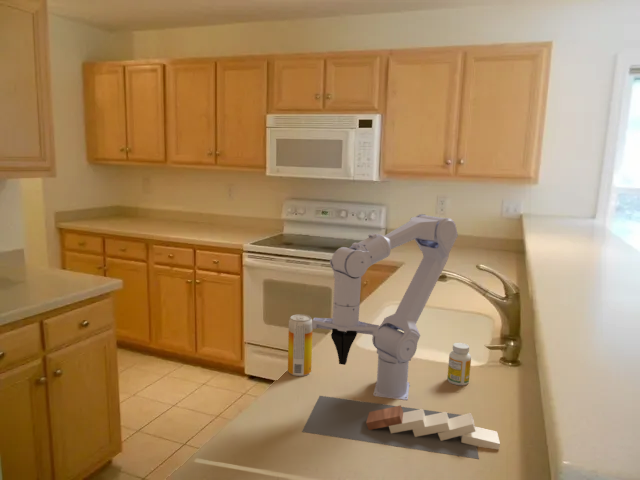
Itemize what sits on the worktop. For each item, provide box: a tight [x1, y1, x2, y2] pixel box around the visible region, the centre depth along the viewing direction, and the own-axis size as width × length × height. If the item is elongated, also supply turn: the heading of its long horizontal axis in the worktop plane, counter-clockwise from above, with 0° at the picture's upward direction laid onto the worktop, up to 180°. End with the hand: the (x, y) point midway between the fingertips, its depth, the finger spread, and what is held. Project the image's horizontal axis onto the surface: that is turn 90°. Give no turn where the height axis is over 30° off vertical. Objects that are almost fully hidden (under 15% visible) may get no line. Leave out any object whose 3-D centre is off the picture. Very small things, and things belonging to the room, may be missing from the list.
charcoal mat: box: [301, 395, 480, 460], centre depth 102 cm, size 16×34×1 cm, turn 77°
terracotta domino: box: [366, 405, 403, 430], centre depth 100 cm, size 2×4×7 cm
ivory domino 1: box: [389, 408, 425, 433], centre depth 99 cm, size 2×4×7 cm
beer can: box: [287, 314, 314, 377], centre depth 125 cm, size 6×6×15 cm
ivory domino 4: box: [461, 426, 501, 450], centre depth 96 cm, size 2×4×7 cm
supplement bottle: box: [447, 342, 472, 386], centre depth 123 cm, size 5×5×10 cm
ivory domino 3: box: [438, 412, 476, 441], centre depth 97 cm, size 2×4×7 cm
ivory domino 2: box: [412, 411, 450, 437], centre depth 98 cm, size 2×4×7 cm
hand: (342, 362), depth 108 cm, fingers closed
